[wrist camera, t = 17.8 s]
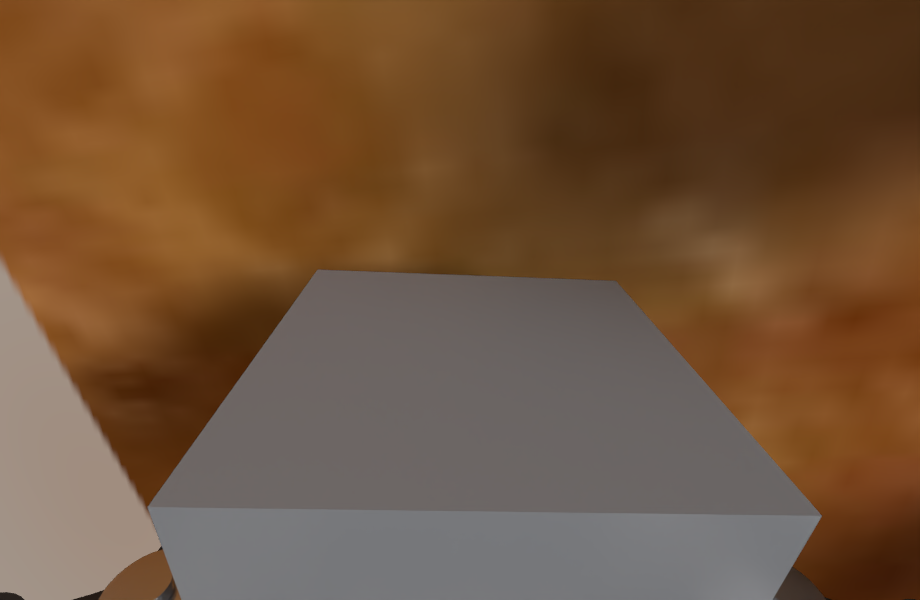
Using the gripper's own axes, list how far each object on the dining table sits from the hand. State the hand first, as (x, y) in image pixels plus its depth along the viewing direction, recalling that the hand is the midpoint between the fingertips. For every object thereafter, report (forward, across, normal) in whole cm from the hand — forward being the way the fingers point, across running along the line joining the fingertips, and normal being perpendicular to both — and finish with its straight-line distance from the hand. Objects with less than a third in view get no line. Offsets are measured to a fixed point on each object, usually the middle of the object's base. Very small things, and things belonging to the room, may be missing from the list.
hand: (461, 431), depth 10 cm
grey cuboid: (+1, 0, 0) cm, 1 cm away
